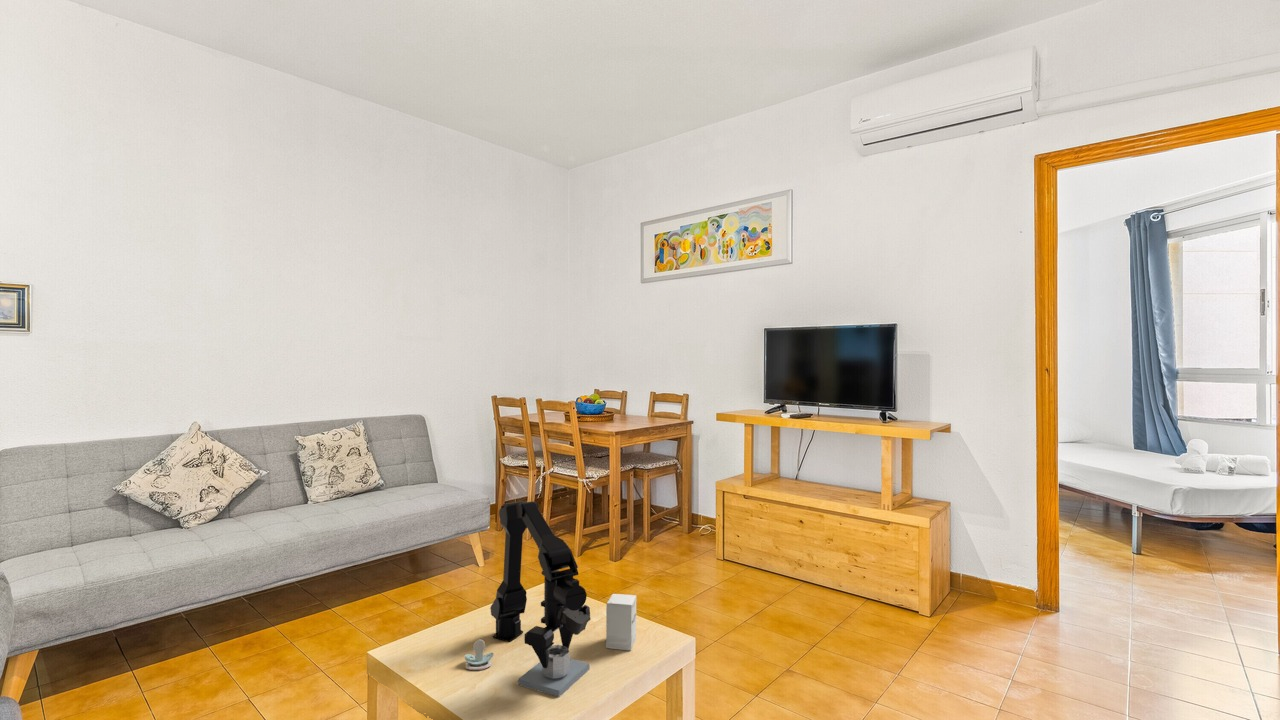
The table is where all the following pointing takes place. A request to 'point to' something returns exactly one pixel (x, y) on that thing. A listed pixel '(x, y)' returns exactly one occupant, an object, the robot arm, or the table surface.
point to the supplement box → (621, 622)
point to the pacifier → (478, 657)
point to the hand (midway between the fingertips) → (555, 659)
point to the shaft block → (556, 685)
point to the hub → (557, 662)
